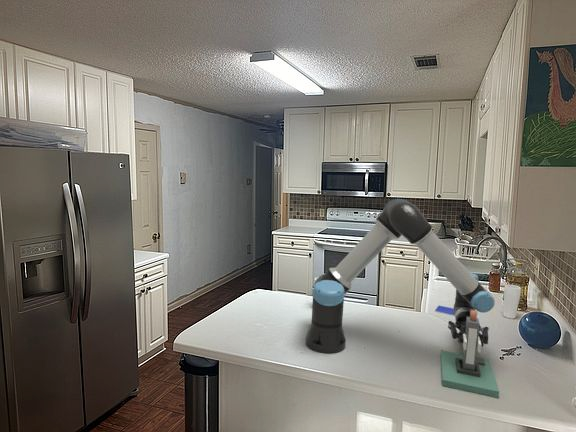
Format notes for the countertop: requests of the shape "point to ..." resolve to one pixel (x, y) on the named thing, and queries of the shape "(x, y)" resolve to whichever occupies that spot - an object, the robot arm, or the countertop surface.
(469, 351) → the plug
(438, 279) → the countertop surface
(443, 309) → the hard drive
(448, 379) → the board
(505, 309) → the drinking glass
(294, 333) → the countertop surface
